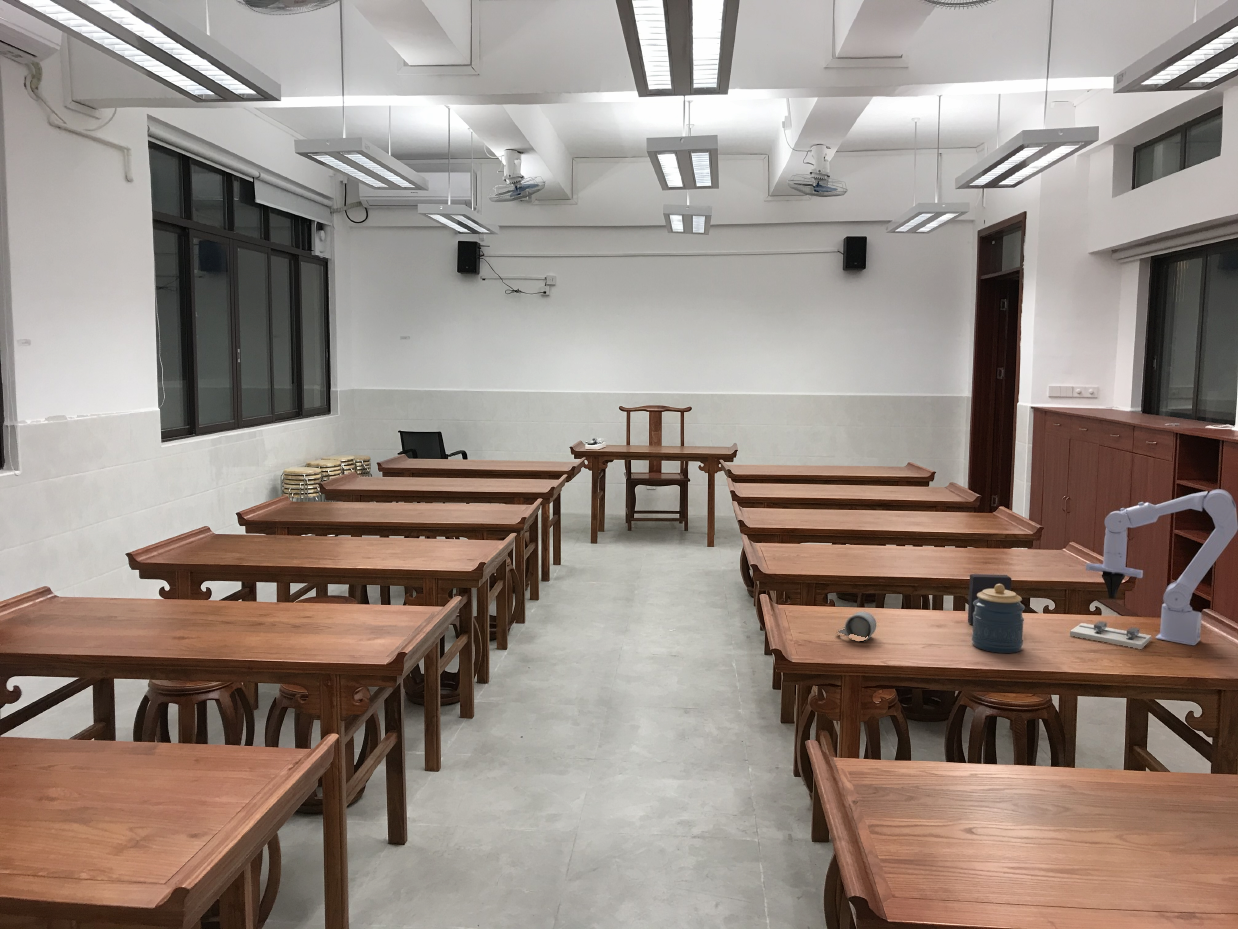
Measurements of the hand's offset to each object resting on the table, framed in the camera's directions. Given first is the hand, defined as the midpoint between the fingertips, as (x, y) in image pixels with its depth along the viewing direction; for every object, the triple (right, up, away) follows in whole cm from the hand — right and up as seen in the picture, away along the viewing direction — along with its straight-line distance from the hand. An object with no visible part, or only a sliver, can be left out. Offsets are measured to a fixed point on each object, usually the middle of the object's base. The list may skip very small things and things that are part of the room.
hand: (1112, 598), depth 257 cm
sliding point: (-7, -8, -6) cm, 12 cm away
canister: (-41, -11, -15) cm, 45 cm away
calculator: (-34, -9, +6) cm, 36 cm away
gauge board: (-5, -10, -8) cm, 14 cm away
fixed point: (-1, -9, -12) cm, 15 cm away
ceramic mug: (-77, -11, -8) cm, 78 cm away
